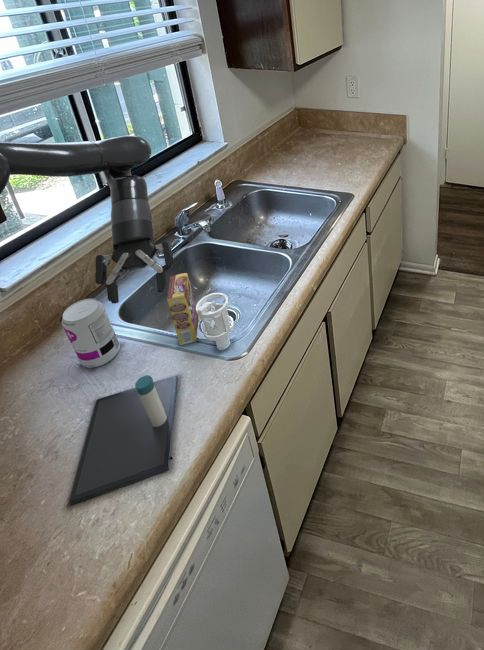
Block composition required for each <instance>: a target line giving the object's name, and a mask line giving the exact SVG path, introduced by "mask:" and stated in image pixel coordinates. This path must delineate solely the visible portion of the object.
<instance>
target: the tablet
mask: <svg viewBox="0 0 484 650" xmlns="http://www.w3.org/2000/svg"><path fill="white" fill-rule="evenodd" d="M178 379H179V378H178V375H172V376H171V377H170V376H169V377H167V378H163V379H160V380H157V381H153V382H154V386H155V388H156V391H157V393H158V396H159V398H160V401H161V403H162V406H163V408H164V411H165V413H166V416H167V419H166V421H165V423H164V424H162V425H161V426H159V427H154V426H152V424H151V421H150V419H149V417H148V414H147V412H146V410H145V407H144V405H143V403H142V400H141V398H140V395H139V394H138V392H137V389H136V387H133V388H130V389H127V390H124V391H119V392H117V393H114V394H111V395H107V396H103V397H100V398H97V399H96V400H95V404H94V406H93V407H94V408H93V411H92V415H91V419H90V422H89V426H88V430H87V433H86V437H85V440H84V444H83V449H82V451H81V455H80V459H79V463H78V467H77V470H76V473H75V478H74V481H73V486H72V489H71V493H70V497H69V501H68V504H69V505H70V506H72V505H75V504H79V503H81V502H84V501H87V500H90V499H92V498H95V497H98V496H100V495H104V494H106V493H109V492H112V491H114V490H117V489H119V488H123V487H125V486H128V485H131V484H133V483H137V482H140V481H143V480H145V479H148V478H151V477H153V476H156V475H159V474H161V473H164V472H167V471H170V467H171V466H170V465H171V456H172V455H171V454H172V444H173V434H174V423H175V413H176V412H175V411H176V402H177V392H178V391H177V390H178Z"/></svg>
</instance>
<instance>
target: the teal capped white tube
mask: <svg viewBox="0 0 484 650" xmlns="http://www.w3.org/2000/svg"><path fill="white" fill-rule="evenodd" d="M154 382H155V381H154V379H153V377H152V376H151V375H148V374H147V375H143V376H141V377H140V378H138V379H137V380H136V381H135V383H134V388H136V389H137V392H138V394H139V395H140V398H141V400H142V403H143V405H144V407H145V410H146V412H147V414H148V417H149V419H150V421H151V424H152V426H154V427H159V426H161V425H162V424H164V423H165V421H166V419H167V416H166V413H165V411H164V408H163V406H162V403H161V401H160V398H159V396H158V393H157V391H156V388H155V386H154Z"/></svg>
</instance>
